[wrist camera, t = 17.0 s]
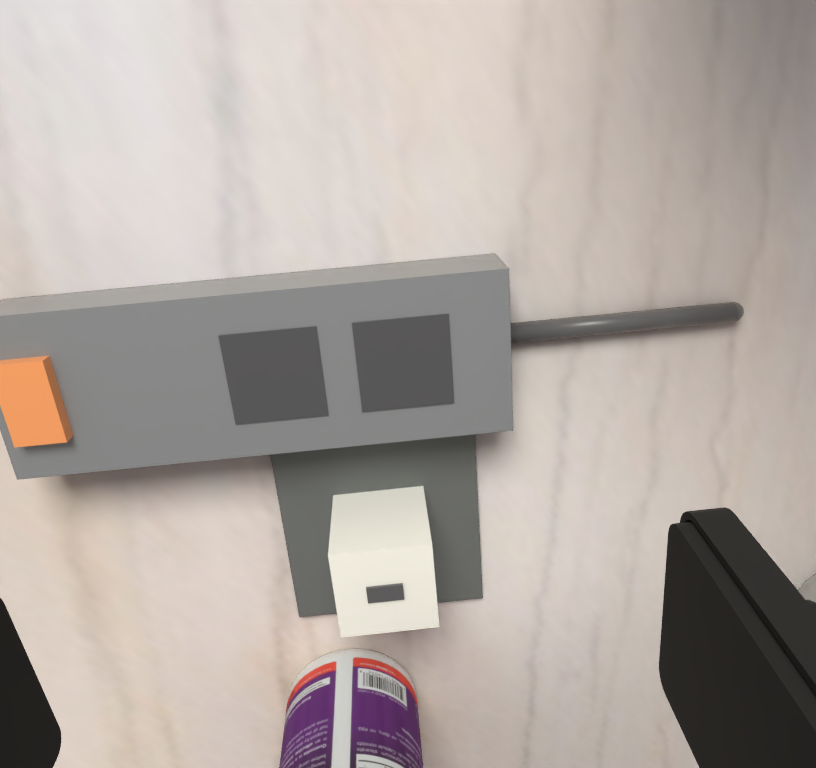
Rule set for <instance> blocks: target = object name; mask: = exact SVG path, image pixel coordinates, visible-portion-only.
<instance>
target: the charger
mask: <svg viewBox="0 0 816 768" xmlns="http://www.w3.org/2000/svg"><path fill="white" fill-rule="evenodd" d="M328 559H329V566H330V572H331V578H332V585H333V591H334V598H335V604H336V610H337V617H338V623H339V629H340V636H341V638H343V637H352V636H362V635H371V634H380V633H389V632H398V631H407V630H417V629H426V628H435V627H439V617H438V605H437V594H436V582H435V570H434V559H433V547H432V539H431V533H430V526H429V520H428V513H427V507H426V500H425V494H424V487H423V486H417V487H407V488H397V489H388V490H378V491H369V492H359V493H350V494H340V495H333V503H332V515H331V526H330V538H329V549H328Z"/></svg>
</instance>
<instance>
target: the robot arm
mask: <svg viewBox="0 0 816 768" xmlns="http://www.w3.org/2000/svg"><path fill="white" fill-rule="evenodd" d="M659 672H660V678H661V683H662V686H663V690H664V692H665V695H666V697H667V699H668V701H669V703H670V705H671V708H672V710H673V712H674V714H675V716H676V718H677V720H678V723H679V725H680V727H681V729H682V731H683V733H684V735H685V738H686V740H687V742H688V744H689V746H690V748H691V750H692V753H693V755H694V757H695V759H696V761H697V763H698V765H699V768H816V603H815V602H813V601H811V600H805V599H804V597H803V596H802V595H801V594H800V593H799V591H798V590H797V589H796V588H795V587H794V585H793V584H792V583H791V582H790V580H789V579H788V578H787V577H786V576H785V574H784V573H783V572H782V571H781V570H780V568H779V567H778V566H777V565H776V563H775V562H774V561H773V560H772V559H771V557H770V556H769V555H768V554H767V553H766V551H765V550H764V549H763V548H762V546H761V545H760V544H759V543H758V542H757V540H756V539H755V538H754V537H753V536H752V534H751V533H750V532H749V531H748V529H747V528H746V527H745V526H744V525H743V523H742V522H741V521H740V520H739V519H738V517H737V516H736V515H735V514H734V513H733V512H732V511H731V510H730V509H728V508H716V509H706V510H697V511H687V512H685V513H683V515H682V516H681V520H680V523H676V524H672V525H671V526H670V528H669V532H668V545H667V559H666V573H665V588H664V602H663V616H662V630H661V645H660V659H659ZM60 746H61V731H60V728H59V725H58V723H57V721H56V718H55V716H54V714H53V712H52V709H51V707H50V705H49V703H48V700H47V698H46V696H45V694H44V692H43V689H42V687H41V685H40V683H39V680H38V678H37V676H36V674H35V671H34V669H33V667H32V665H31V662H30V660H29V658H28V656H27V653H26V651H25V649H24V647H23V644H22V642H21V640H20V638H19V636H18V633H17V631H16V629H15V627H14V624H13V622H12V620H11V618H10V615H9V613H8V611H7V609H6V606H5V604H4V602H3V601H2V599H1V598H0V768H53V766H54V764H55V762H56V759H57V757H58V754H59V751H60Z"/></svg>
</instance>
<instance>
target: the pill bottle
mask: <svg viewBox="0 0 816 768" xmlns="http://www.w3.org/2000/svg"><path fill="white" fill-rule="evenodd" d="M279 768H423V760H422V750H421V739H420V728H419V716H418V705H417V697H416V692H415V688H414V685H413V683H412V681H411V678H410V677H409V675H408V674H407V672H406V671H405V670H404V669H403V668H402V667H401V666H400V665H399V664H398V663H397V662H396V661H394V660H393V659H391V658H389V657H388V656H386V655H384V654H381V653H379V652H376V651H371V650H365V649H345V650H339V651H335V652H331V653H328V654H326V655H323V656H321V657H319V658H317V659H316V660H314V661H313V662H311V663H310V664H308V665H307V666H306V667H305V668H304V669H303V670H302V671H301V672H300V673H299V675H298V676H297V677H296V679H295V681H294V682H293V684H292V687H291V689H290V692H289V696H288V703H287V710H286V718H285V726H284V735H283V743H282V751H281V759H280V767H279Z"/></svg>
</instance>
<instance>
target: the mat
mask: <svg viewBox="0 0 816 768" xmlns="http://www.w3.org/2000/svg"><path fill="white" fill-rule="evenodd" d="M271 460H272V466H273V471H274V477H275V483H276V488H277V494H278V500H279V505H280V511H281V516H282V522H283V528H284V533H285V539H286V545H287V550H288V556H289V561H290V567H291V573H292V578H293V584H294V590H295V595H296V601H297V606H298V612H299V617H305V616H314V615H324V614H334V613H337V610H336V604H335V598H334V591H333V585H332V578H331V572H330V566H329V559H328V549H329V538H330V526H331V515H332V503H333V495H340V494H350V493H359V492H369V491H378V490H388V489H397V488H407V487H417V486H423V487H424V494H425V500H426V507H427V513H428V520H429V526H430V533H431V539H432V547H433V559H434V570H435V582H436V594H437V603H439V602H448V601H458V600H467V599H477V598H483V595H482V575H481V554H480V534H479V514H478V494H477V473H476V453H475V434H473V435H463V436H452V437H442V438H432V439H422V440H412V441H402V442H392V443H382V444H372V445H362V446H351V447H341V448H331V449H321V450H311V451H301V452H291V453H281V454H271Z"/></svg>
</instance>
